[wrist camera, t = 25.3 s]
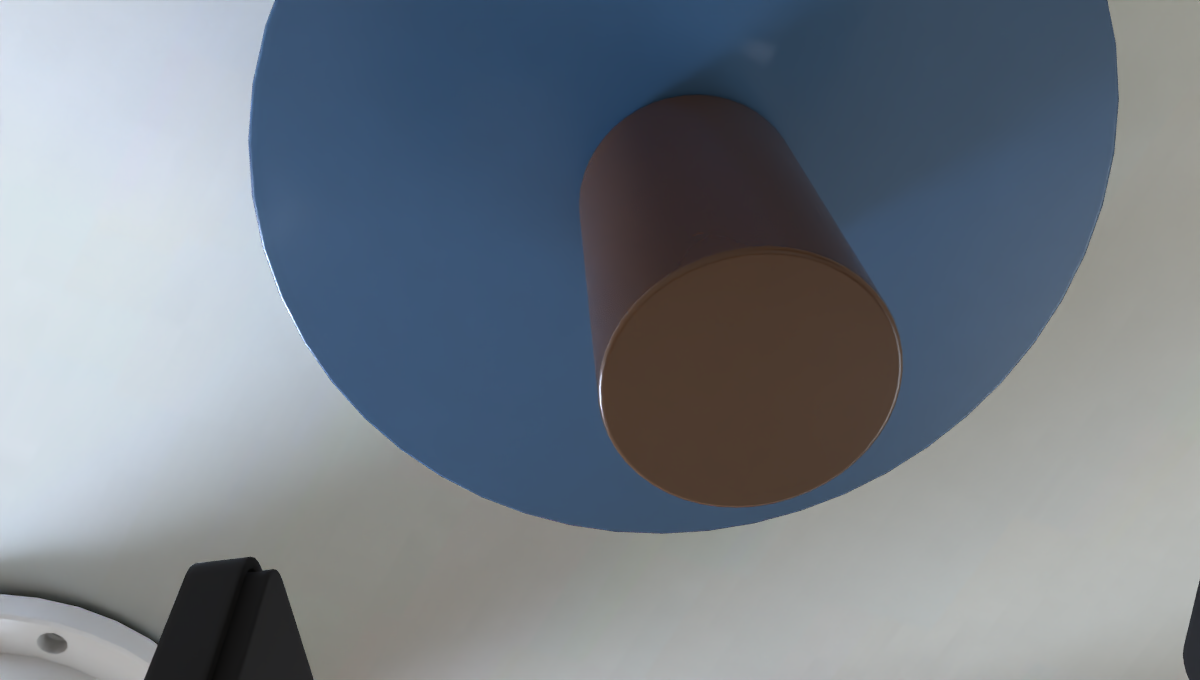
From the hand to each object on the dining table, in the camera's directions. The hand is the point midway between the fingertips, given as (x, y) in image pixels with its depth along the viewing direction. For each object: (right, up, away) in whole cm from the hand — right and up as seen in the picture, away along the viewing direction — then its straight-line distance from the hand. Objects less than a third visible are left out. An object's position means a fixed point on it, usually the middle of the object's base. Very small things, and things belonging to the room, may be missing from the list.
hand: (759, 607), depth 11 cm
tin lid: (0, +5, +8) cm, 10 cm away
